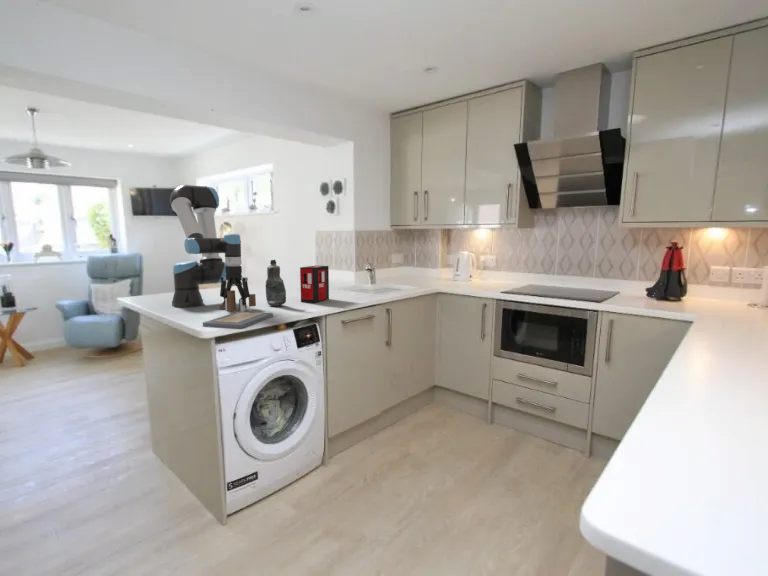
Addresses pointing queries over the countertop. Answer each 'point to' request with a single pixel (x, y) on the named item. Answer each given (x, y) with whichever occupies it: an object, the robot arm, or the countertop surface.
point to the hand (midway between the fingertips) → (235, 311)
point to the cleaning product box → (314, 284)
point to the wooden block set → (232, 301)
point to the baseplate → (238, 319)
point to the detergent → (275, 285)
